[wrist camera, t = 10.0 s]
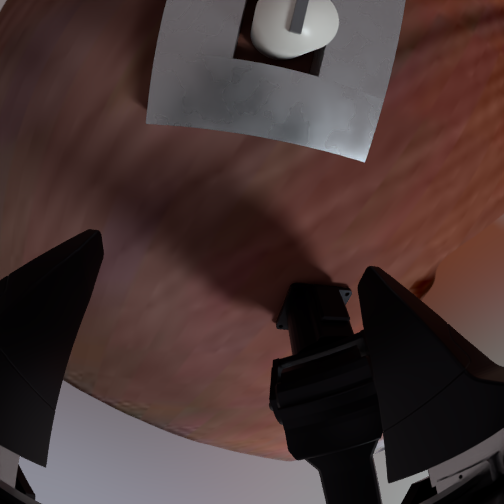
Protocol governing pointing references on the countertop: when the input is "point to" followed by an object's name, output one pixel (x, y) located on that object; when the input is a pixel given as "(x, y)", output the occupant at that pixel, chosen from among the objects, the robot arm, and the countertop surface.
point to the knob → (293, 27)
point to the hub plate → (275, 77)
